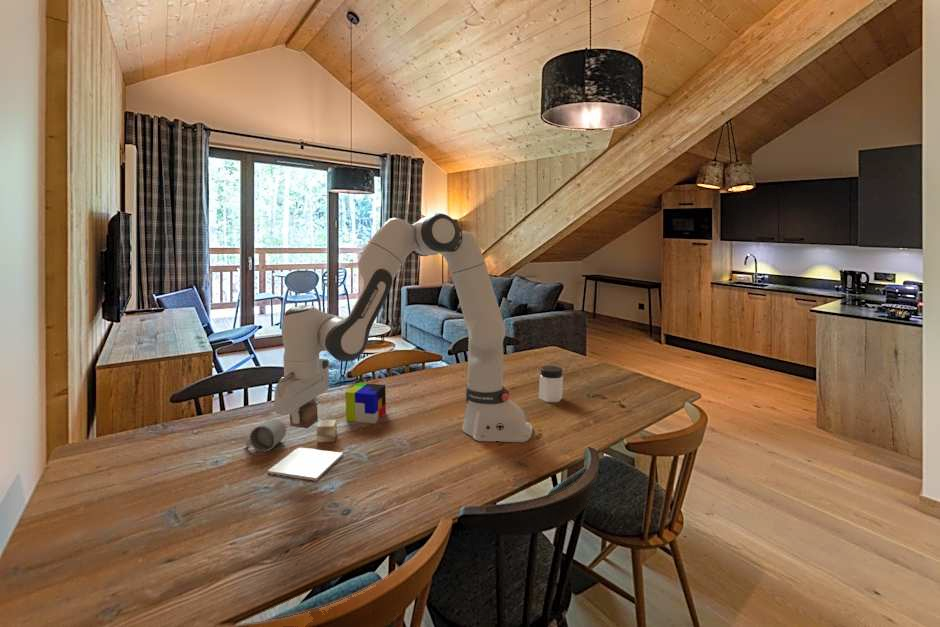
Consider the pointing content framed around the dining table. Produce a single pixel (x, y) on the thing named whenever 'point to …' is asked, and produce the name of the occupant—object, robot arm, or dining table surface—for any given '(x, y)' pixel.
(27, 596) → the dining table surface
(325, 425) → the maple block
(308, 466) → the white coaster
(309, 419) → the walnut block
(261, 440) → the ceramic mug
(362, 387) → the puzzle toy
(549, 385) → the jar
